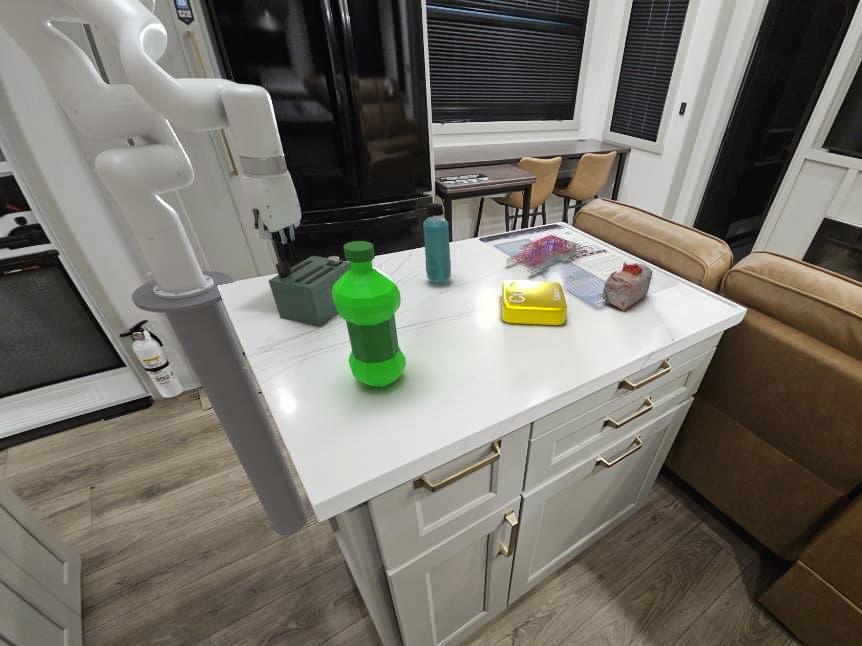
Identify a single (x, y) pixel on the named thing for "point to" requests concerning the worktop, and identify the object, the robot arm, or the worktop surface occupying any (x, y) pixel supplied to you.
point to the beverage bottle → (437, 244)
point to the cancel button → (334, 261)
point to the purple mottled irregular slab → (544, 262)
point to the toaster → (308, 291)
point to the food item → (627, 285)
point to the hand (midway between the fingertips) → (288, 259)
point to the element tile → (533, 303)
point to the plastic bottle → (369, 317)
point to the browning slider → (283, 268)
